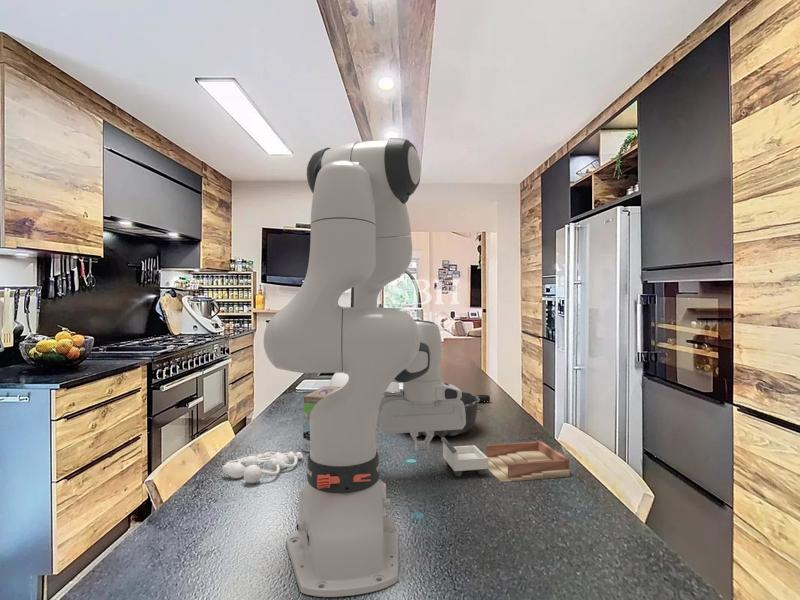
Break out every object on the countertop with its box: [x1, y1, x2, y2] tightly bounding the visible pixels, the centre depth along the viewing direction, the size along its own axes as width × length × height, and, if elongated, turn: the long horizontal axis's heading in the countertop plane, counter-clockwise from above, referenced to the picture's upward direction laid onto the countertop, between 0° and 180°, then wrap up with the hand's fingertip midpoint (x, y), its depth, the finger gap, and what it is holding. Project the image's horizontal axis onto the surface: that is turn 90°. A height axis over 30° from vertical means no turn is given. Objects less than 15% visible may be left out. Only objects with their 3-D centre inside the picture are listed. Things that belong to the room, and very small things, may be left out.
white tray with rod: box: [440, 436, 488, 478], centre depth 109 cm, size 9×8×6 cm
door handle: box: [475, 394, 491, 411], centre depth 171 cm, size 3×20×16 cm
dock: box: [485, 439, 571, 483], centre depth 112 cm, size 16×17×4 cm
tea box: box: [302, 385, 342, 453], centre depth 128 cm, size 15×10×15 cm, turn 168°
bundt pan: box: [418, 390, 480, 439], centre depth 142 cm, size 26×26×10 cm
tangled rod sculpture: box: [221, 451, 304, 484], centre depth 111 cm, size 19×14×4 cm
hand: (421, 449), depth 108 cm, fingers closed
